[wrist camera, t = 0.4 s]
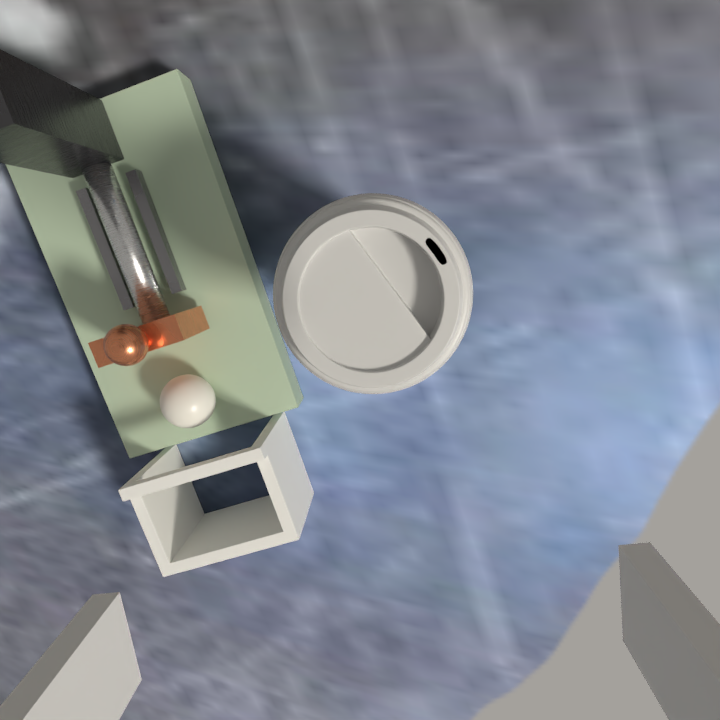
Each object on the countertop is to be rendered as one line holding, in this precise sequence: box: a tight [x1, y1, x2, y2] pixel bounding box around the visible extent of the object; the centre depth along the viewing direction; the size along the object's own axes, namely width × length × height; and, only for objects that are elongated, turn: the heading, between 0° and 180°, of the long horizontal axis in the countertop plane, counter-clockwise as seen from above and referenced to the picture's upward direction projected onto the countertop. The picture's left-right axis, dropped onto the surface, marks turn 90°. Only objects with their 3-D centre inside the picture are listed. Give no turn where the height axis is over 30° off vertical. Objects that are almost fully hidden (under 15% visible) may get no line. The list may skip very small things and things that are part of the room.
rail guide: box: [76, 169, 187, 310], centre depth 37 cm, size 8×4×1 cm, turn 18°
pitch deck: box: [6, 69, 303, 458], centre depth 39 cm, size 23×13×2 cm, turn 18°
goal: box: [118, 412, 314, 577], centre depth 39 cm, size 7×10×8 cm
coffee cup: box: [273, 193, 473, 394], centre depth 32 cm, size 10×10×15 cm
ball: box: [160, 374, 216, 428], centre depth 38 cm, size 4×4×4 cm
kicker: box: [0, 50, 209, 368], centre depth 31 cm, size 16×6×11 cm, turn 18°
